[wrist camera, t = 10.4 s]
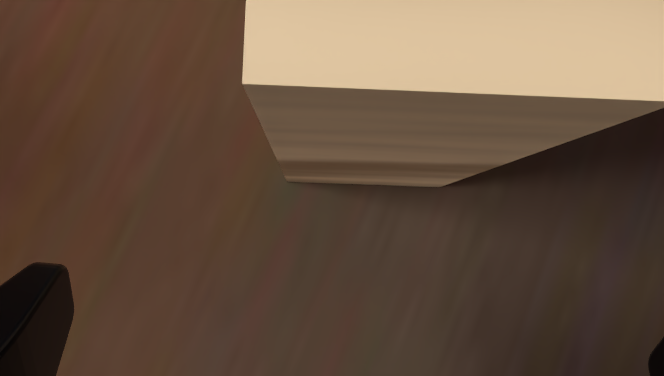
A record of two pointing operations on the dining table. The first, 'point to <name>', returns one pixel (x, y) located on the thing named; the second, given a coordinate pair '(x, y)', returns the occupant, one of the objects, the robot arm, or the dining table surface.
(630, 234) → the dining table surface
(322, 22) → the maple block
